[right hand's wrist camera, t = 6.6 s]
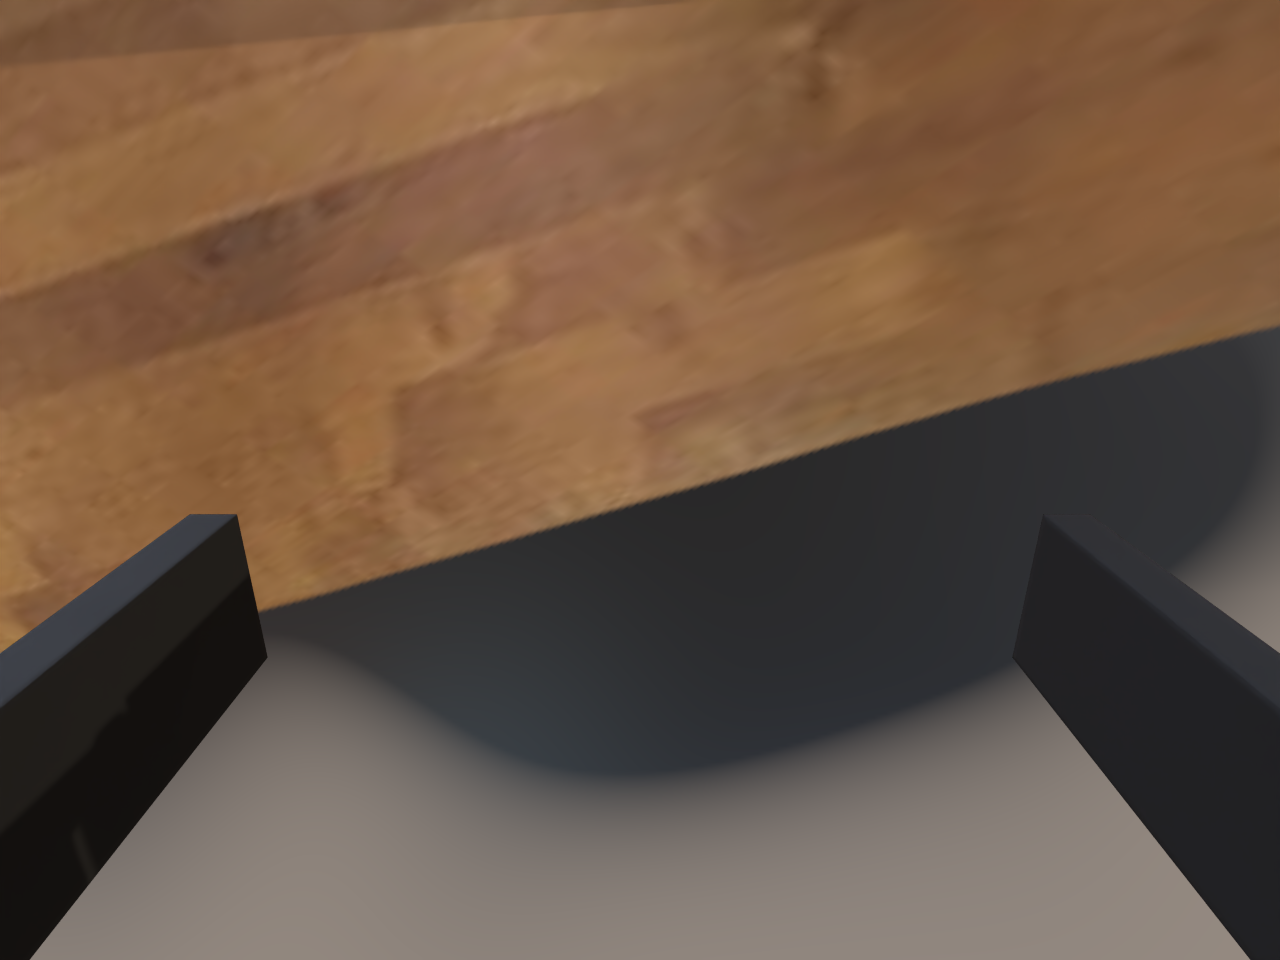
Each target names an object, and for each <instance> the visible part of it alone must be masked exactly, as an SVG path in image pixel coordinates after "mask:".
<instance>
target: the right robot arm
mask: <svg viewBox="0 0 1280 960" xmlns="http://www.w3.org/2000/svg"><path fill="white" fill-rule="evenodd" d="M266 659H267V653H266V648H265V643H264V639H263V634H262V629H261V625H260V620H259V615H258V611H257V606H256V601H255V597H254V592H253V587H252V583H251V578H250V573H249V569H248V564H247V559H246V555H245V550H244V545H243V541H242V536H241V531H240V527H239V522H238V517H237V514H190V515H188V516H187V517H186V518H184V519H183V520H182V521H180V522H179V523H177V524H176V525H175V526H173V527H172V528H171V529H169V530H168V531H167V532H165V533H164V534H162V535H161V536H160V537H158V538H157V539H156V540H154V541H153V542H152V543H150V544H149V545H147V546H146V547H145V548H143V549H142V550H141V551H139V552H138V553H137V554H135V555H134V556H132V557H131V558H130V559H128V560H127V561H126V562H124V563H123V564H122V565H120V566H119V567H117V568H116V569H115V570H113V571H112V572H111V573H109V574H108V575H107V576H105V577H104V578H102V579H101V580H100V581H98V582H97V583H96V584H94V585H93V586H92V587H90V588H89V589H87V590H86V591H85V592H83V593H82V594H81V595H79V596H78V597H77V598H75V599H74V600H72V601H71V602H70V603H68V604H67V605H66V606H64V607H63V608H62V609H60V610H59V611H57V612H56V613H55V614H53V615H52V616H51V617H49V618H48V619H47V620H45V621H44V622H42V623H41V624H40V625H38V626H37V627H36V628H34V629H33V630H32V631H30V632H29V633H27V634H26V635H25V636H23V637H22V638H21V639H19V640H18V641H17V642H15V643H14V644H12V645H11V646H10V647H8V648H7V649H6V650H4V651H3V652H2V653H0V960H30V959H31V957H32V956H33V955H34V953H35V952H36V951H37V950H38V948H39V947H40V946H41V945H42V943H43V942H44V941H45V940H46V938H47V937H48V936H49V934H50V933H51V932H52V931H53V929H54V928H55V927H56V926H57V924H58V923H59V922H60V920H61V919H62V918H63V917H64V915H65V914H66V913H67V912H68V910H69V909H70V908H71V906H72V905H73V904H74V903H75V901H76V900H77V899H78V898H79V896H80V895H81V894H82V893H83V891H84V890H85V889H86V887H87V886H88V885H89V884H90V882H91V881H92V880H93V879H94V877H95V876H96V875H97V873H98V872H99V871H100V870H101V868H102V867H103V866H104V865H105V863H106V862H107V861H108V859H109V858H110V857H111V856H112V854H113V853H114V852H115V851H116V849H117V848H118V847H119V846H120V844H121V843H122V842H123V840H124V839H125V838H126V837H127V835H128V834H129V833H130V832H131V830H132V829H133V828H134V826H135V825H136V824H137V823H138V821H139V820H140V819H141V818H142V816H143V815H144V814H145V812H146V811H147V810H148V809H149V807H150V806H151V805H152V804H153V802H154V801H155V800H156V798H157V797H158V796H159V795H160V793H161V792H162V791H163V790H164V788H165V787H166V786H167V785H168V783H169V782H170V781H171V779H172V778H173V777H174V776H175V774H176V773H177V772H178V770H179V769H180V768H181V767H182V765H183V764H184V763H185V762H186V760H187V759H188V758H189V757H190V755H191V754H192V753H193V751H194V750H195V749H196V748H197V746H198V745H199V744H200V743H201V741H202V740H203V739H204V738H205V736H206V735H207V734H208V732H209V731H210V730H211V729H212V727H213V726H214V725H215V724H216V722H217V721H218V720H219V718H220V717H221V716H222V715H223V713H224V712H225V711H226V710H227V708H228V707H229V706H230V704H231V703H232V702H233V701H234V699H235V698H236V697H237V696H238V694H239V693H240V692H241V690H242V689H243V688H244V687H245V685H246V684H247V683H248V682H249V680H250V679H251V678H252V677H253V675H254V674H255V673H256V671H257V670H258V669H259V668H260V666H261V665H262V664H263V662H264V661H265V660H266ZM1013 659H1014V660H1015V661H1016V663H1017V664H1018V665H1019V666H1020V668H1021V669H1022V670H1023V671H1024V673H1025V674H1026V675H1027V676H1028V678H1029V679H1030V680H1031V682H1032V683H1033V684H1034V685H1035V687H1036V688H1037V689H1038V690H1039V692H1040V693H1041V694H1042V696H1043V697H1044V698H1045V699H1046V701H1047V702H1048V703H1049V704H1050V706H1051V707H1052V708H1053V710H1054V711H1055V712H1056V713H1057V715H1058V716H1059V717H1060V718H1061V720H1062V721H1063V722H1064V723H1065V725H1066V726H1067V727H1068V728H1069V730H1070V731H1071V732H1072V734H1073V735H1074V736H1075V737H1076V739H1077V740H1078V741H1079V743H1080V744H1081V745H1082V746H1083V748H1084V749H1085V750H1086V751H1087V753H1088V754H1089V755H1090V757H1091V758H1092V759H1093V760H1094V762H1095V763H1096V764H1097V765H1098V767H1099V768H1100V769H1101V771H1102V772H1103V773H1104V774H1105V776H1106V777H1107V778H1108V779H1109V781H1110V782H1111V783H1112V785H1113V786H1114V787H1115V788H1116V790H1117V791H1118V792H1119V793H1120V795H1121V796H1122V797H1123V798H1124V800H1125V801H1126V802H1127V803H1128V805H1129V806H1130V807H1131V809H1132V810H1133V811H1134V812H1135V814H1136V815H1137V816H1138V817H1139V819H1140V820H1141V821H1142V823H1143V824H1144V825H1145V826H1146V828H1147V829H1148V830H1149V832H1150V833H1151V834H1152V835H1153V837H1154V838H1155V839H1156V840H1157V842H1158V843H1159V844H1160V845H1161V847H1162V848H1163V849H1164V851H1165V852H1166V853H1167V854H1168V856H1169V857H1170V858H1171V859H1172V861H1173V862H1174V863H1175V865H1176V866H1177V867H1178V868H1179V870H1180V871H1181V872H1182V873H1183V875H1184V876H1185V877H1186V878H1187V880H1188V881H1189V882H1190V884H1191V885H1192V886H1193V887H1194V889H1195V890H1196V891H1197V893H1198V894H1199V895H1200V896H1201V897H1202V899H1203V900H1204V901H1205V903H1206V904H1207V905H1208V907H1209V908H1210V909H1211V910H1212V912H1213V913H1214V914H1215V915H1216V917H1217V918H1218V919H1219V920H1220V922H1221V923H1222V924H1223V926H1224V927H1225V928H1226V929H1227V931H1228V932H1229V933H1230V934H1231V936H1232V937H1233V938H1234V940H1235V941H1236V942H1237V943H1238V945H1239V946H1240V947H1241V948H1242V950H1243V951H1244V952H1245V954H1246V955H1247V956H1248V957H1249V959H1250V960H1280V653H1278V652H1277V651H1276V650H1274V649H1273V648H1272V647H1270V646H1269V645H1268V644H1266V643H1265V642H1263V641H1262V640H1261V639H1259V638H1258V637H1257V636H1255V635H1254V634H1253V633H1251V632H1250V631H1248V630H1247V629H1246V628H1244V627H1243V626H1242V625H1240V624H1239V623H1237V622H1236V621H1235V620H1233V619H1232V618H1231V617H1229V616H1228V615H1227V614H1225V613H1224V612H1223V611H1221V610H1220V609H1218V608H1217V607H1216V606H1214V605H1213V604H1212V603H1210V602H1209V601H1208V600H1206V599H1205V598H1203V597H1202V596H1201V595H1199V594H1198V593H1197V592H1195V591H1194V590H1193V589H1191V588H1190V587H1188V586H1187V585H1186V584H1184V583H1183V582H1182V581H1180V580H1179V579H1177V578H1176V577H1175V576H1173V575H1172V574H1171V573H1169V572H1168V571H1167V570H1165V569H1164V568H1163V567H1161V566H1160V565H1158V564H1157V563H1156V562H1154V561H1153V560H1152V559H1150V558H1149V557H1148V556H1146V555H1145V554H1143V553H1142V552H1141V551H1139V550H1138V549H1137V548H1135V547H1134V546H1133V545H1131V544H1130V543H1128V542H1127V541H1126V540H1124V539H1123V538H1122V537H1120V536H1119V535H1118V534H1116V533H1115V532H1113V531H1112V530H1111V529H1109V528H1108V527H1107V526H1105V525H1104V524H1103V523H1101V522H1100V521H1098V520H1097V519H1096V518H1094V517H1093V516H1092V515H1090V514H1043V517H1042V522H1041V527H1040V531H1039V536H1038V541H1037V545H1036V550H1035V555H1034V560H1033V564H1032V569H1031V573H1030V578H1029V583H1028V587H1027V592H1026V597H1025V601H1024V606H1023V611H1022V615H1021V620H1020V625H1019V629H1018V634H1017V639H1016V643H1015V648H1014V653H1013Z"/></svg>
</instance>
